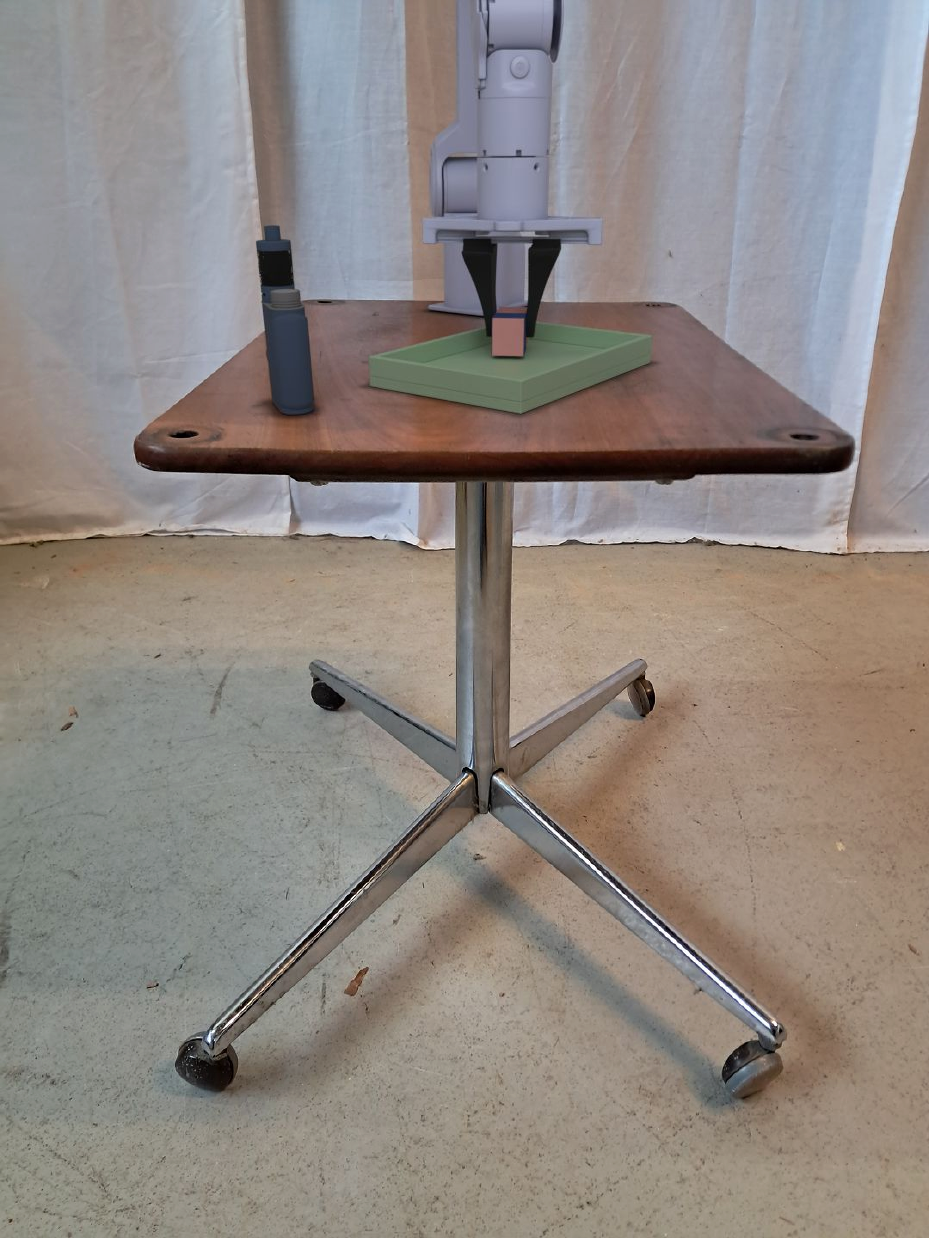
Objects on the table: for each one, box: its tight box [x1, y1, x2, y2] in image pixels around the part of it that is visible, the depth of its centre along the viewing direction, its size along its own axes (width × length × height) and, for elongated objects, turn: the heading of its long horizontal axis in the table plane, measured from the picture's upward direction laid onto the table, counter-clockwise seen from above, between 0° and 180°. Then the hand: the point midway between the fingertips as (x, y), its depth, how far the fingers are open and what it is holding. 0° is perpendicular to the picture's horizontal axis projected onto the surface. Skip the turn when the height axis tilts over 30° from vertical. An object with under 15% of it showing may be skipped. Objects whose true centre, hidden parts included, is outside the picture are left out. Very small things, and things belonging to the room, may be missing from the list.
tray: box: [368, 321, 653, 415], centre depth 75 cm, size 20×14×2 cm
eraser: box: [492, 306, 528, 356], centre depth 78 cm, size 6×3×3 cm, turn 172°
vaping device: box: [255, 224, 315, 416], centre depth 64 cm, size 3×5×12 cm, turn 21°
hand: (510, 335), depth 78 cm, fingers closed on eraser, 3 cm apart
